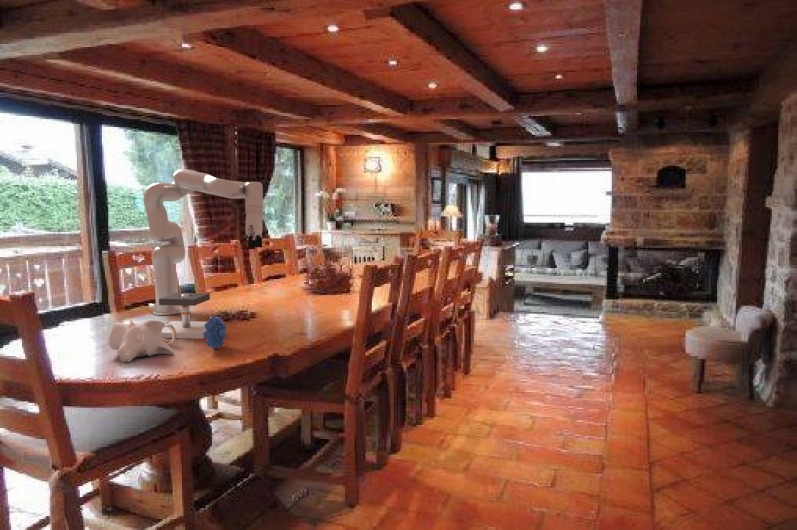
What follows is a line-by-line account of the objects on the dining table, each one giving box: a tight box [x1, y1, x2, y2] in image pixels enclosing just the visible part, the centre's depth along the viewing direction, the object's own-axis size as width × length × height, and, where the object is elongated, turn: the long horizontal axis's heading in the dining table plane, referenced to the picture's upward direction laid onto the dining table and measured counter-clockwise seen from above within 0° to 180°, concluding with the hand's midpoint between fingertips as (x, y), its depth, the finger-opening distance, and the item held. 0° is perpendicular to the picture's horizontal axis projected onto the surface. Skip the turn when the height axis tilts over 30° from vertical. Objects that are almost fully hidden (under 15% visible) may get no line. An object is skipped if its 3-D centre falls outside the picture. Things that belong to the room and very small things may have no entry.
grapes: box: [203, 316, 228, 350], centre depth 191 cm, size 12×7×12 cm, turn 163°
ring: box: [161, 321, 177, 346], centre depth 198 cm, size 7×3×8 cm, turn 67°
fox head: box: [108, 318, 175, 363], centre depth 181 cm, size 14×17×20 cm
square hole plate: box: [159, 292, 211, 307], centre depth 216 cm, size 14×14×2 cm
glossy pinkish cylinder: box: [180, 294, 191, 328], centre depth 216 cm, size 4×4×13 cm
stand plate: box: [162, 320, 224, 340], centre depth 217 cm, size 22×20×2 cm
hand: (255, 248), depth 245 cm, fingers open, 9 cm apart
